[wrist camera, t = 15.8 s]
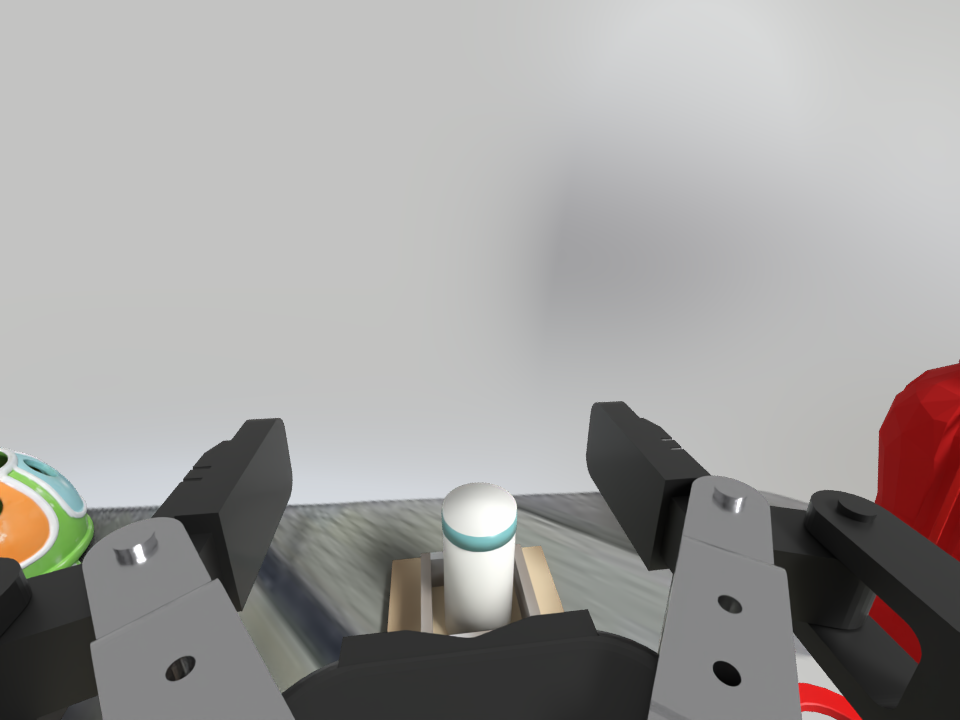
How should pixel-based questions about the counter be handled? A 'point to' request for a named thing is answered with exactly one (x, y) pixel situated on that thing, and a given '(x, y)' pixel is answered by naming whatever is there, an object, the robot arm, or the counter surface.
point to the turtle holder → (40, 515)
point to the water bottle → (921, 474)
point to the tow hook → (825, 702)
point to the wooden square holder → (423, 591)
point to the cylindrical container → (478, 557)
